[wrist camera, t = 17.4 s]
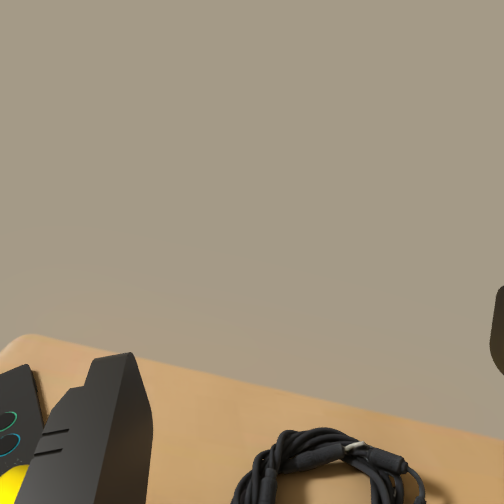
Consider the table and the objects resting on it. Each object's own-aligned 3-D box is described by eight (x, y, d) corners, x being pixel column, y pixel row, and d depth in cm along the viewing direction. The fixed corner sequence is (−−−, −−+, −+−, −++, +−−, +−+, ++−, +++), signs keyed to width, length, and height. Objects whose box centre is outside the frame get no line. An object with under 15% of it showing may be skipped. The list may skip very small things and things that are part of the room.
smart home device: (-42, 511, 39) (-39, 389, 55) (-34, 522, 40) (-34, 399, 56) (51, 462, 43) (29, 361, 59) (57, 473, 44) (33, 370, 59)
